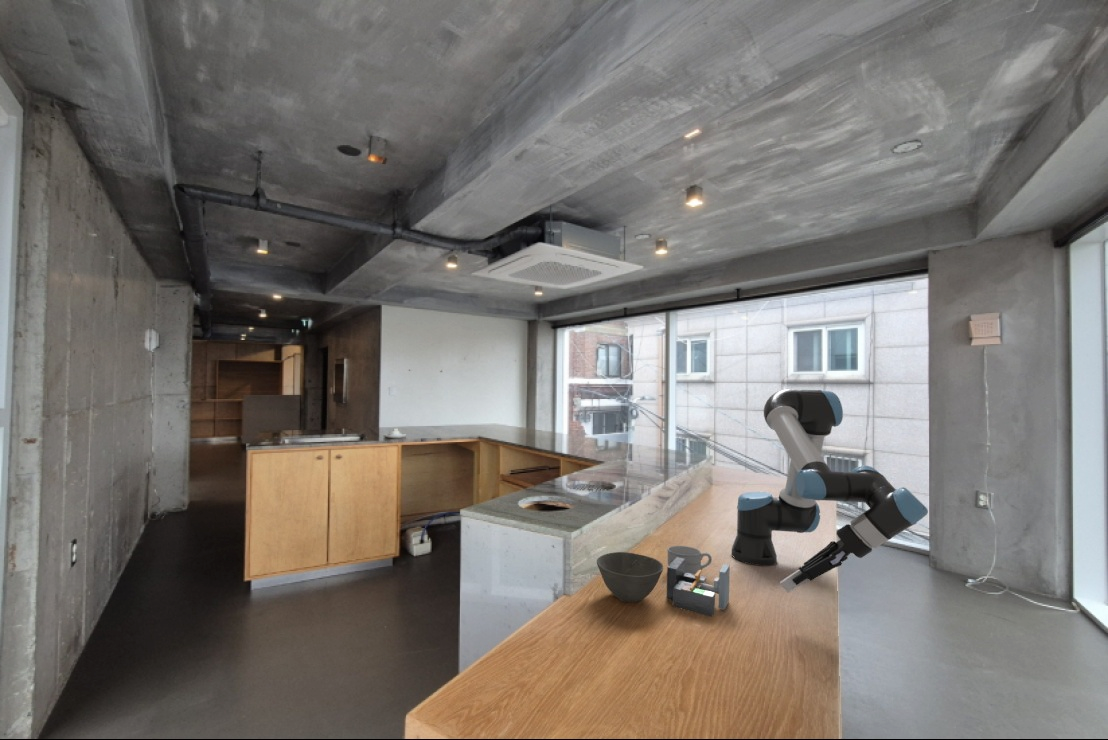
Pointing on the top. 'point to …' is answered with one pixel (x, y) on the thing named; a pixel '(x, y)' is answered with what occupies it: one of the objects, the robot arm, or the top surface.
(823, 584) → the top surface
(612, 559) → the bowl
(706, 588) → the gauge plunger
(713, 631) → the top surface
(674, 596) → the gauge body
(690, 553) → the teacup
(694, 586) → the orange bar
